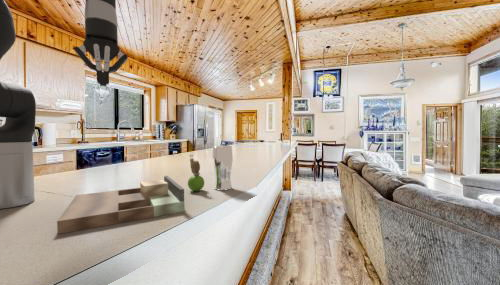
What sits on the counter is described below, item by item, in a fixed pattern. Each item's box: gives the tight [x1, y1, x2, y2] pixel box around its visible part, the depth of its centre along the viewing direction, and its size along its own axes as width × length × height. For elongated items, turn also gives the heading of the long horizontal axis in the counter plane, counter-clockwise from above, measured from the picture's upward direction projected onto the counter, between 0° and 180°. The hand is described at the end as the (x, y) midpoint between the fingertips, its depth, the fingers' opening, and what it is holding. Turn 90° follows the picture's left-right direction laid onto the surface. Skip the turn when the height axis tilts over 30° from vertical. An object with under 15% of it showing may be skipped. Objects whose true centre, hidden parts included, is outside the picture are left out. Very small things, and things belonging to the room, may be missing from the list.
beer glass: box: [212, 145, 234, 191], centre depth 77 cm, size 7×7×15 cm
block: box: [139, 179, 168, 198], centre depth 62 cm, size 6×6×3 cm
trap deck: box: [56, 175, 185, 235], centre depth 57 cm, size 24×22×6 cm
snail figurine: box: [187, 154, 205, 192], centre depth 75 cm, size 5×6×12 cm
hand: (103, 85), depth 62 cm, fingers closed
